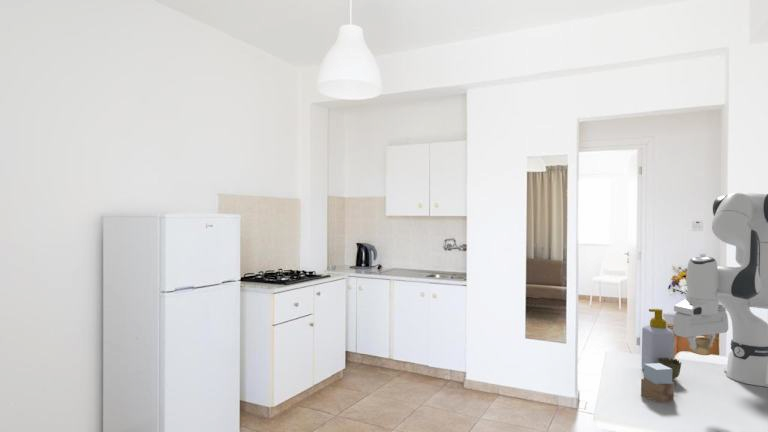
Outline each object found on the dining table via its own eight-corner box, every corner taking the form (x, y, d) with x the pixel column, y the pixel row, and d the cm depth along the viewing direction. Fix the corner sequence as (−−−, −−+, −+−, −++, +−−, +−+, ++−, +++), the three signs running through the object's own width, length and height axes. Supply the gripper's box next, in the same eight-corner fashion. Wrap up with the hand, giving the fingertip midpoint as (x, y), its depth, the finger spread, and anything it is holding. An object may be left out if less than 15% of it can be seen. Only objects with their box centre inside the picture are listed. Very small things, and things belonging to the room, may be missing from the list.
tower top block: (658, 377, 163) (659, 363, 163) (672, 383, 157) (672, 368, 157) (643, 378, 162) (643, 363, 162) (656, 384, 156) (656, 369, 156)
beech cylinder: (699, 349, 157) (699, 335, 156) (714, 354, 152) (714, 339, 152) (688, 351, 155) (688, 336, 155) (702, 355, 150) (702, 340, 150)
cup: (684, 385, 171) (684, 364, 171) (662, 383, 173) (662, 362, 173) (675, 378, 179) (676, 357, 178) (654, 376, 180) (655, 356, 180)
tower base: (653, 392, 164) (654, 375, 164) (673, 400, 158) (673, 382, 158) (640, 395, 161) (641, 378, 161) (660, 403, 155) (661, 385, 155)
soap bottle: (639, 367, 190) (641, 306, 190) (662, 368, 190) (663, 307, 189) (651, 375, 181) (653, 311, 181) (675, 376, 181) (676, 312, 180)
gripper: (715, 302, 159) (715, 341, 160) (669, 306, 153) (669, 347, 153) (734, 306, 153) (733, 347, 154) (687, 310, 147) (686, 353, 147)
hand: (701, 347), depth 153 cm, fingers closed on beech cylinder, 5 cm apart
